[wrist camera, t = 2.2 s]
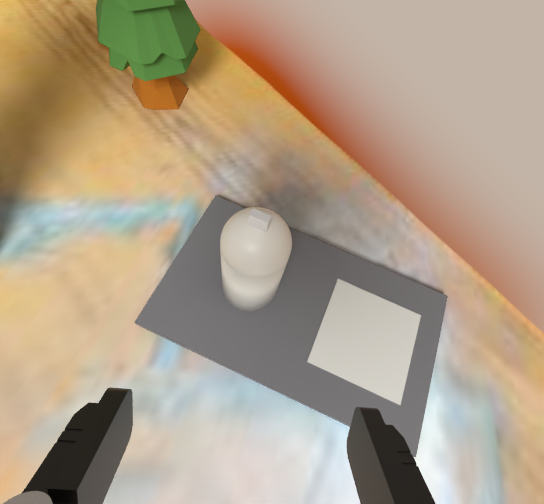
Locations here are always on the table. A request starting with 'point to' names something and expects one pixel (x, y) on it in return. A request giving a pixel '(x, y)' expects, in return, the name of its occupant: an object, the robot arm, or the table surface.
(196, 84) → the table surface
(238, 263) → the white rounded cylinder
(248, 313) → the mat
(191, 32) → the decorative tree
